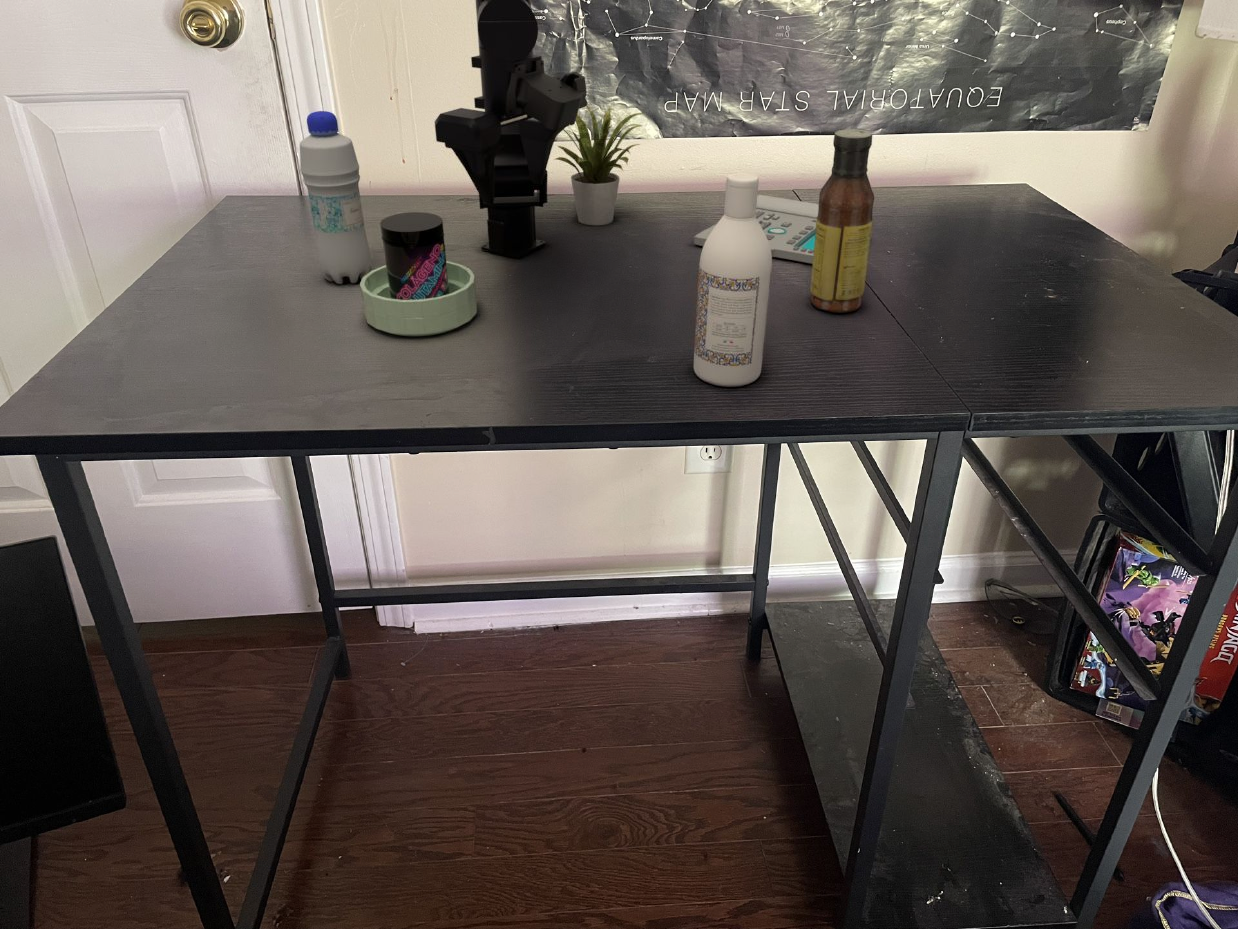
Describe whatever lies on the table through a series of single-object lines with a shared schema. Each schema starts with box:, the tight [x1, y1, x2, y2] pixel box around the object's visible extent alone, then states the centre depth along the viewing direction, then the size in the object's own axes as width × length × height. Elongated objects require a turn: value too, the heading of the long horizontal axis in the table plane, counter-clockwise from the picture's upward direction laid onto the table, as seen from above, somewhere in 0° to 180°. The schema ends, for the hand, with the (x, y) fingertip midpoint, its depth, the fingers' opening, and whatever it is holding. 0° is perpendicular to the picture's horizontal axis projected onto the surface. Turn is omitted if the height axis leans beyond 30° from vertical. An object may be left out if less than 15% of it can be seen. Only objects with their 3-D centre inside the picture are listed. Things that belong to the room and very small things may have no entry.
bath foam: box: [693, 172, 773, 388], centre depth 87 cm, size 7×7×20 cm
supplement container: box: [379, 211, 450, 300], centre depth 101 cm, size 7×7×10 cm
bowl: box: [359, 260, 478, 337], centre depth 103 cm, size 13×13×4 cm
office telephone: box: [693, 194, 819, 265], centre depth 128 cm, size 23×3×20 cm
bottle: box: [299, 110, 372, 285], centre depth 108 cm, size 7×7×20 cm
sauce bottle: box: [809, 128, 875, 314], centre depth 103 cm, size 7×6×20 cm
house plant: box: [553, 105, 647, 226], centre depth 129 cm, size 14×14×16 cm
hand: (513, 193), depth 104 cm, fingers open, 9 cm apart
